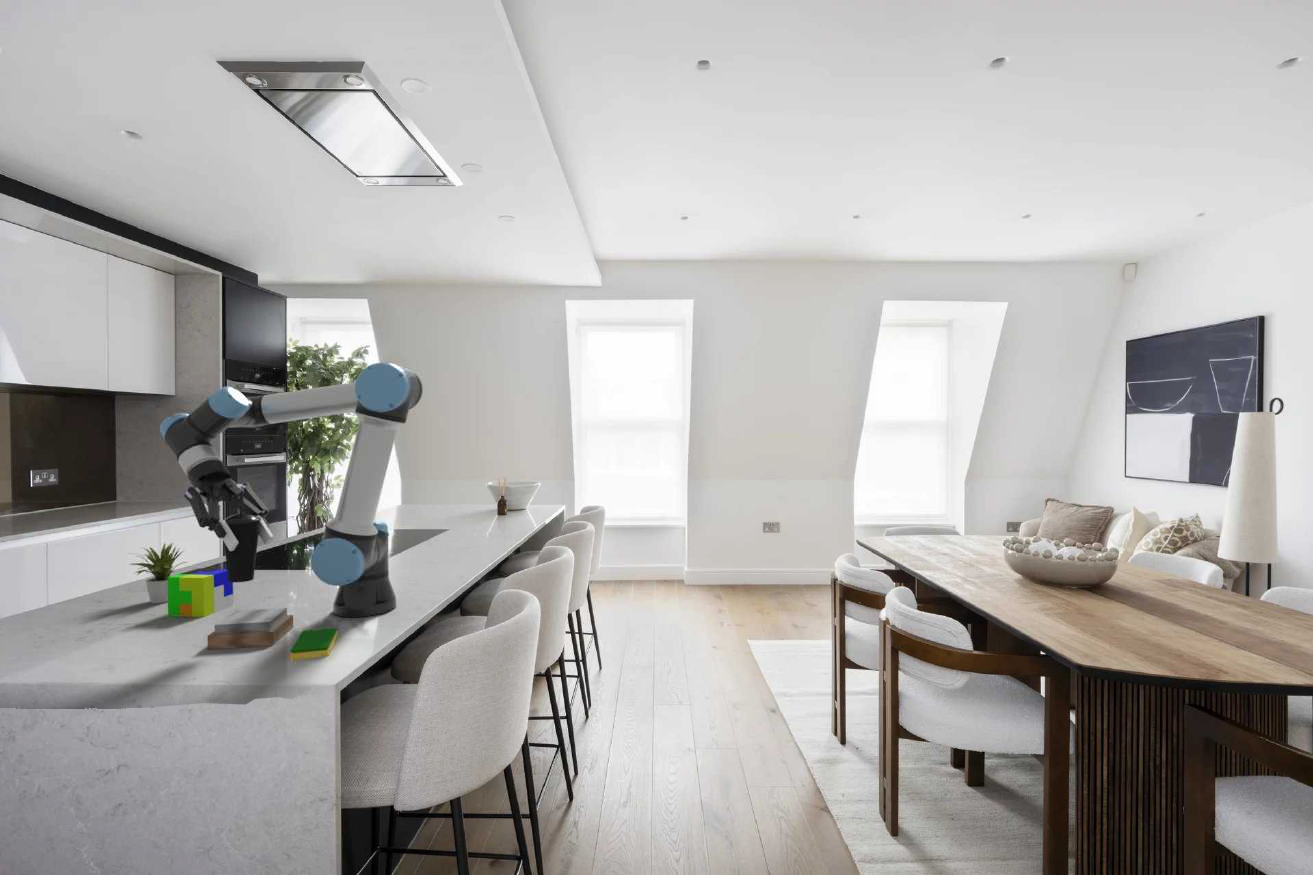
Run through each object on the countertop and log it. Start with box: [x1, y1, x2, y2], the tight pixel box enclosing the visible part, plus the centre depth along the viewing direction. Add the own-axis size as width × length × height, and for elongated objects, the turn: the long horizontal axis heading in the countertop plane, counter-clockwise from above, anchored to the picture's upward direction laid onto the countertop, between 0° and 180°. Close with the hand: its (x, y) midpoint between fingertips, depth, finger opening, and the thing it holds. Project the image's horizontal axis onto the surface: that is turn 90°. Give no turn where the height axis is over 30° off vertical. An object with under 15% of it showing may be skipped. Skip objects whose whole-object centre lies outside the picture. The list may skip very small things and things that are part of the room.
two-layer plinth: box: [207, 607, 294, 650], centre depth 151 cm, size 13×13×5 cm
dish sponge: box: [289, 627, 338, 661], centre depth 144 cm, size 7×14×2 cm, turn 18°
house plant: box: [126, 542, 189, 604], centre depth 183 cm, size 14×14×16 cm
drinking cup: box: [220, 491, 261, 583], centre depth 148 cm, size 8×8×20 cm
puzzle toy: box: [167, 568, 234, 618], centre depth 173 cm, size 10×10×10 cm
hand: (252, 543), depth 146 cm, fingers closed on drinking cup, 7 cm apart
